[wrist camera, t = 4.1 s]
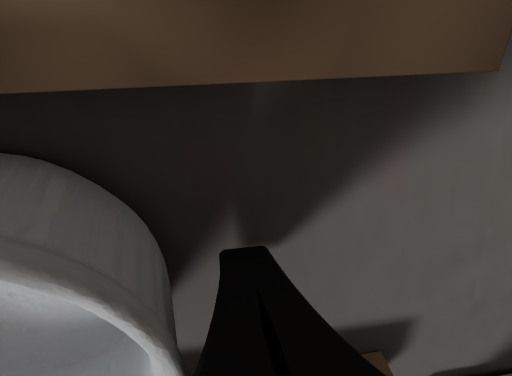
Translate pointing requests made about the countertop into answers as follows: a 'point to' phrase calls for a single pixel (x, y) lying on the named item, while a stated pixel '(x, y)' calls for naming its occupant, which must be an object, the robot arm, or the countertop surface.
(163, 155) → the countertop surface
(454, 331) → the countertop surface
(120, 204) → the ramekin
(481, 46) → the brown flat frame
